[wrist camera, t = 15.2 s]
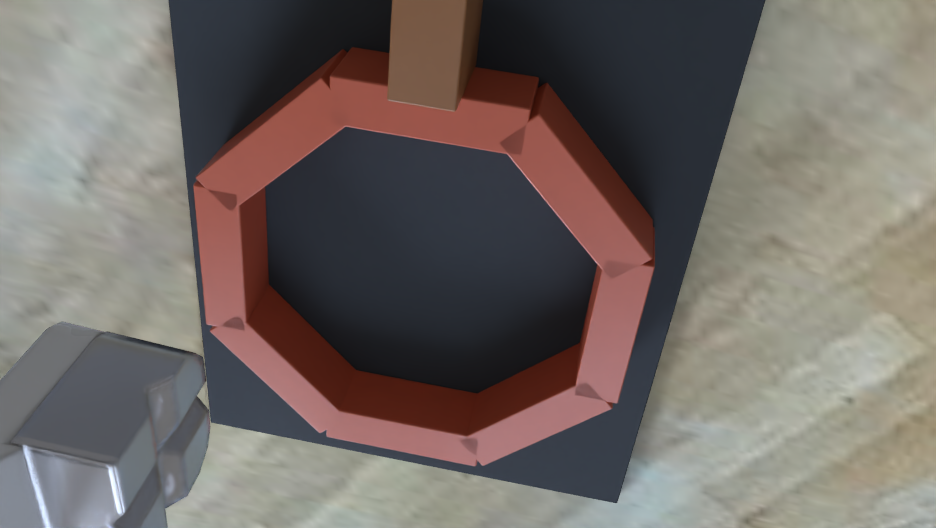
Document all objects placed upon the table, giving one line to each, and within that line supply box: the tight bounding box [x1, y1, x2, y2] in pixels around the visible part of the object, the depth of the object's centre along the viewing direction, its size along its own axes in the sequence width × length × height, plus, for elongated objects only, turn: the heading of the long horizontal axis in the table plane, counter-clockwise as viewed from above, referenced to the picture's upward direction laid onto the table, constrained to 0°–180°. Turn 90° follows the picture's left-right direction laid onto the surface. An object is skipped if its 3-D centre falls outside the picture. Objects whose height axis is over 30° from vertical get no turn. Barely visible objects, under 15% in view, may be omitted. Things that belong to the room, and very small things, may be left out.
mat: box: [169, 0, 765, 503], centre depth 32 cm, size 22×18×1 cm
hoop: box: [193, 0, 655, 466], centre depth 29 cm, size 21×15×4 cm
